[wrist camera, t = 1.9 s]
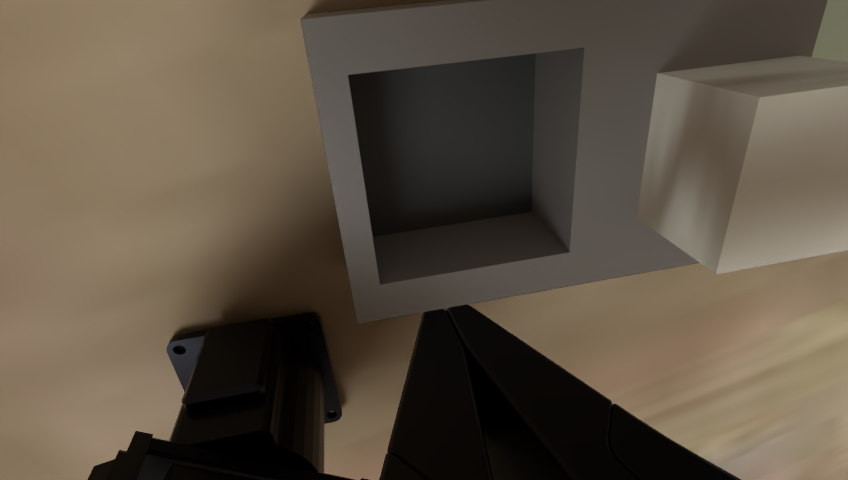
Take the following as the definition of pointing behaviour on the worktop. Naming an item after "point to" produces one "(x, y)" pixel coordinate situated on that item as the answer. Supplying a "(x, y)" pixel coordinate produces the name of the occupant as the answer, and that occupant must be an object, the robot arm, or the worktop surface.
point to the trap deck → (515, 134)
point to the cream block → (749, 161)
